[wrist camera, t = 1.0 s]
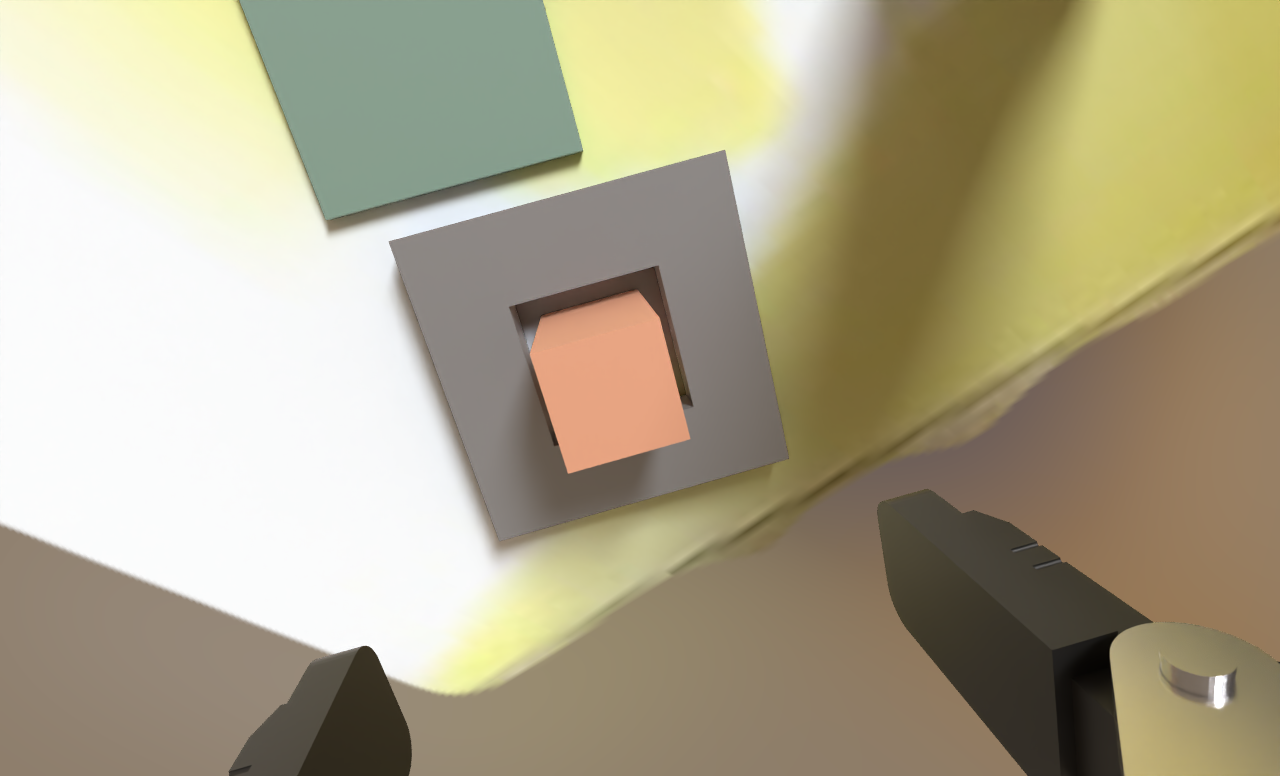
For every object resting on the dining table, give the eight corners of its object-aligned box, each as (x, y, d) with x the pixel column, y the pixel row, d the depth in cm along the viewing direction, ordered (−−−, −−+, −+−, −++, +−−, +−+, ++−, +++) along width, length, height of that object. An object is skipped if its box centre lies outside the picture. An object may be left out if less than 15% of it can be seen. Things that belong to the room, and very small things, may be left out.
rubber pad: (501, -151, 24) (499, -160, 23) (582, 151, 27) (582, 150, 27) (215, -77, 24) (206, -84, 23) (331, 219, 27) (325, 220, 26)
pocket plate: (714, 153, 28) (725, 149, 26) (776, 443, 32) (789, 458, 30) (401, 239, 27) (388, 241, 25) (503, 520, 31) (499, 541, 29)
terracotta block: (637, 288, 29) (659, 318, 21) (661, 380, 30) (690, 438, 23) (541, 315, 29) (529, 354, 21) (569, 406, 30) (568, 473, 22)
